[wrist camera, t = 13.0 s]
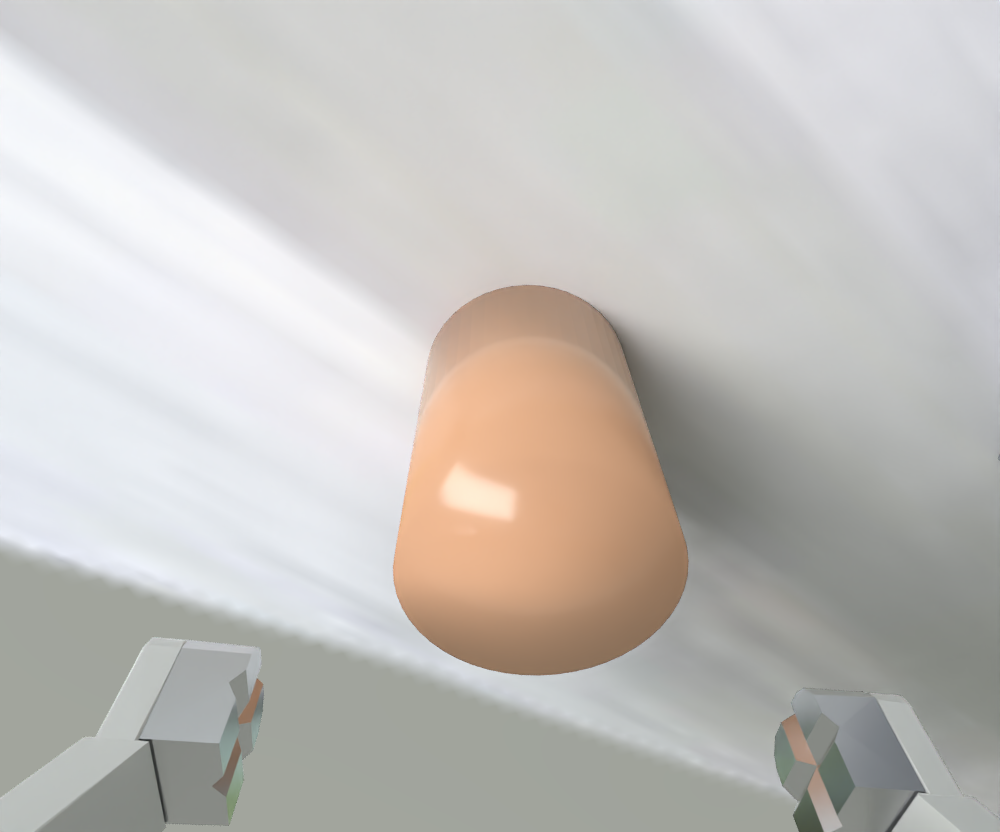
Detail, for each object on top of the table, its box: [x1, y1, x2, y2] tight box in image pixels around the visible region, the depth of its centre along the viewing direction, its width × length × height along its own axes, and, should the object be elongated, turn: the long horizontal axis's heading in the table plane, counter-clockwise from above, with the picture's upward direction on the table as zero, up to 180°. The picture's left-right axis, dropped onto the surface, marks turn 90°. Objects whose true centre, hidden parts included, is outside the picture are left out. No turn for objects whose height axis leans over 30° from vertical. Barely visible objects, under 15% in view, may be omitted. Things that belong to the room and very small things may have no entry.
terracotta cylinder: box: [393, 285, 688, 675], centre depth 15 cm, size 5×5×7 cm
